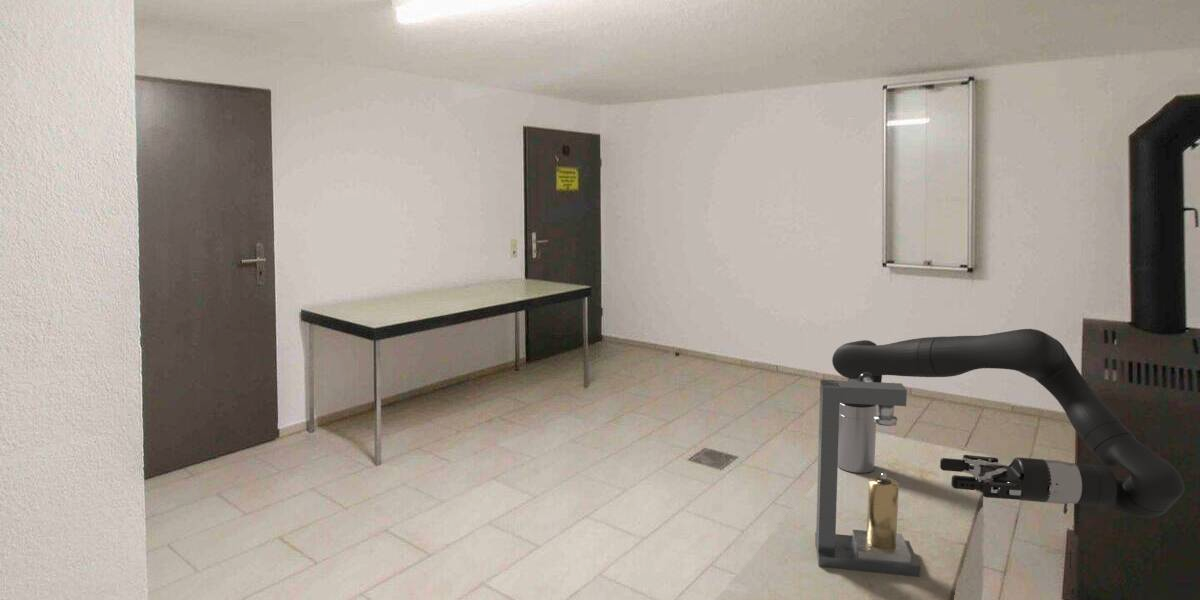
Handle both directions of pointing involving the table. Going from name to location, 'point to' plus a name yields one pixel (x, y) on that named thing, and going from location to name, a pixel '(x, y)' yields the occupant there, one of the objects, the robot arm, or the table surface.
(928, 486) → the table surface
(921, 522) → the table surface
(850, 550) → the press
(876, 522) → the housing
